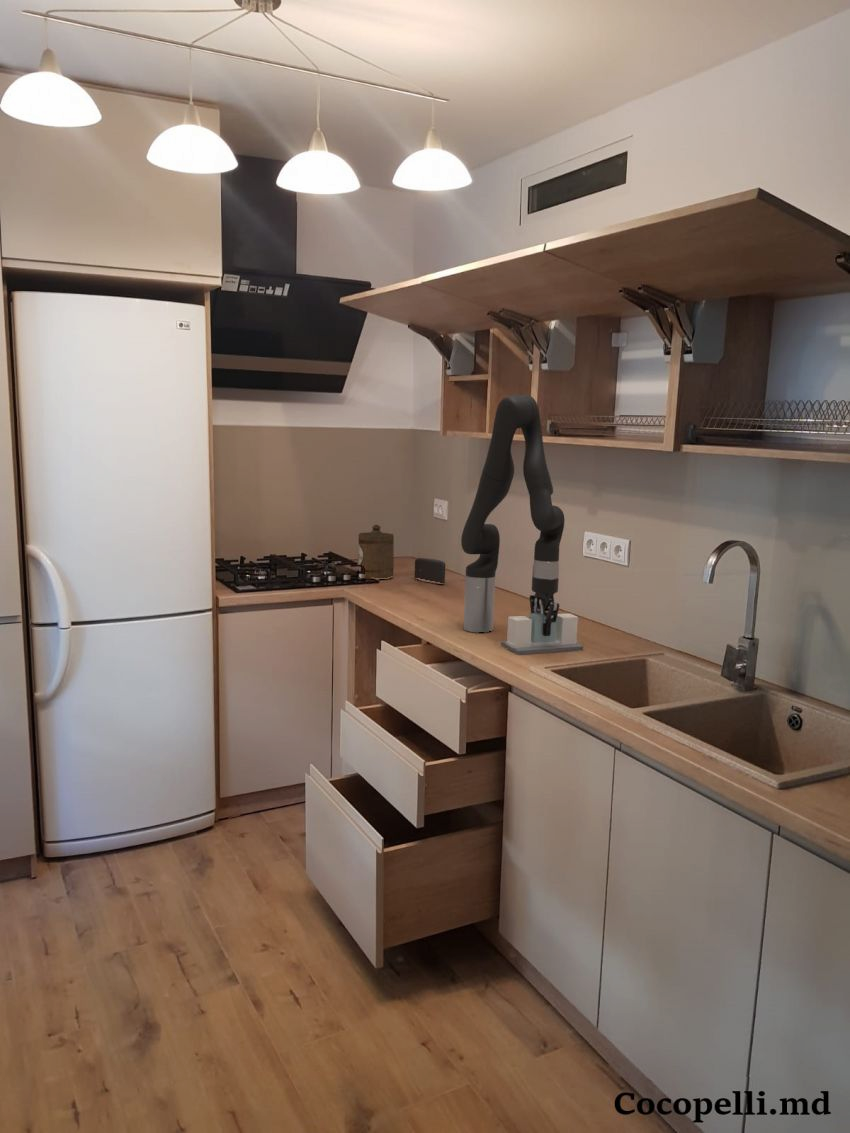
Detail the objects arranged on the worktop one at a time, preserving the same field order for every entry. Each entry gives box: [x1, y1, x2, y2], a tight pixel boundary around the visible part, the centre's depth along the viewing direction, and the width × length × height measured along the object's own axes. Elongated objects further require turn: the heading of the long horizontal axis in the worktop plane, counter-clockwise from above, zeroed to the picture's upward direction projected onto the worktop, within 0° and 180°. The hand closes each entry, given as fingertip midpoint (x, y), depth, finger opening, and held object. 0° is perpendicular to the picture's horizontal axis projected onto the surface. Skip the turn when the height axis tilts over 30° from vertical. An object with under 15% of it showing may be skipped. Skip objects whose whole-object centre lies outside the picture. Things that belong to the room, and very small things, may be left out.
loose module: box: [528, 612, 557, 643], centre depth 244 cm, size 4×7×8 cm, turn 111°
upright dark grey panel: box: [414, 557, 446, 583], centre depth 344 cm, size 16×5×9 cm, turn 47°
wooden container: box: [357, 524, 395, 578], centre depth 351 cm, size 15×15×22 cm
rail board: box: [500, 612, 584, 656], centre depth 245 cm, size 11×21×9 cm, turn 111°
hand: (542, 633), depth 245 cm, fingers open, 4 cm apart
